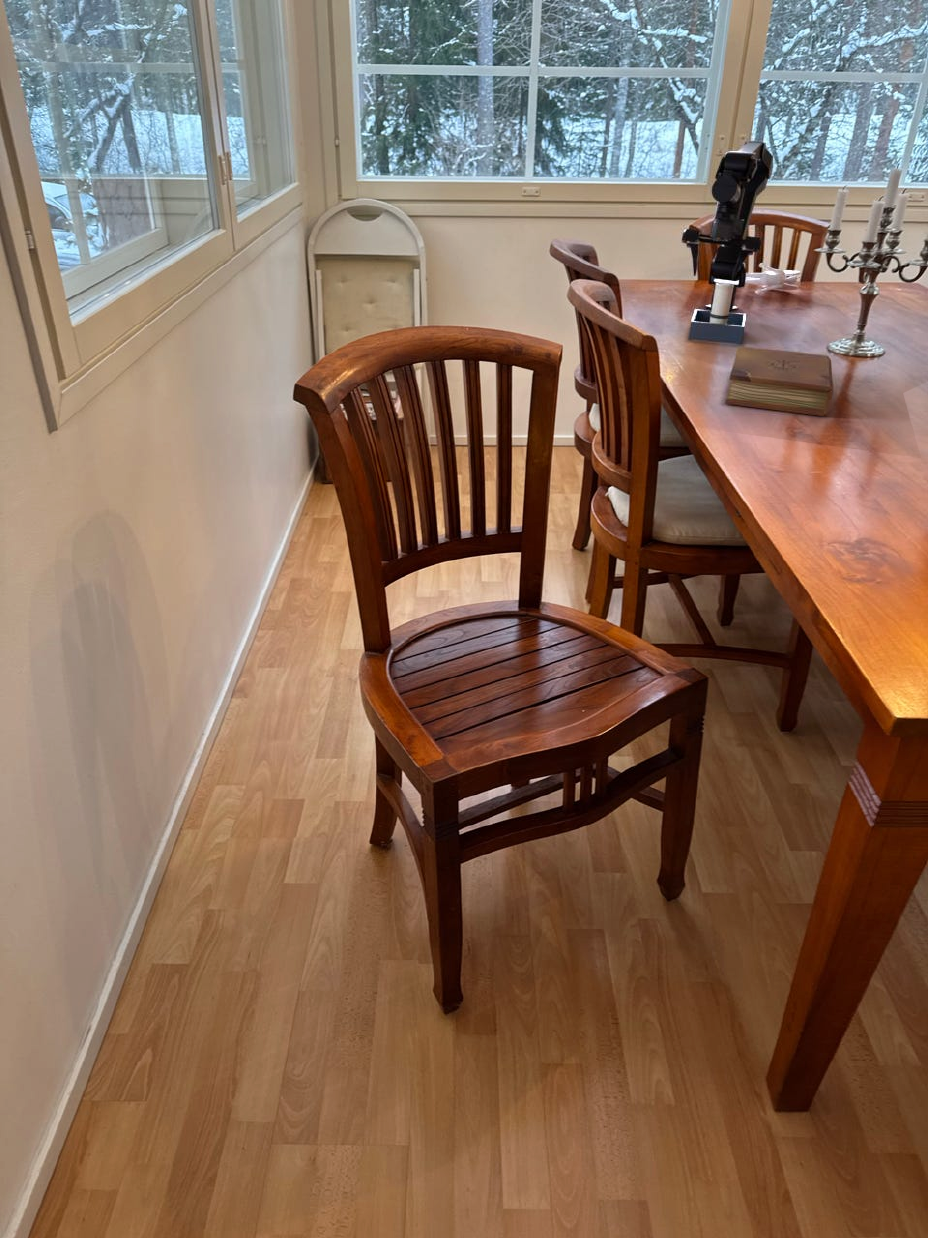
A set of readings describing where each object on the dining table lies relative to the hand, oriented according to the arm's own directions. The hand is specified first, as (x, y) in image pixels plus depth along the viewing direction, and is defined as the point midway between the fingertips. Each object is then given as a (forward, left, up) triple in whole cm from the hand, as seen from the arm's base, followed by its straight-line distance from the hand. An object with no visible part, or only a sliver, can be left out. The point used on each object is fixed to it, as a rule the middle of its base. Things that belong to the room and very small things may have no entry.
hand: (713, 278), depth 217 cm
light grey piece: (+11, +10, -10) cm, 19 cm away
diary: (+37, +42, -11) cm, 57 cm away
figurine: (-47, -12, -11) cm, 49 cm away
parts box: (+10, +9, -11) cm, 17 cm away
